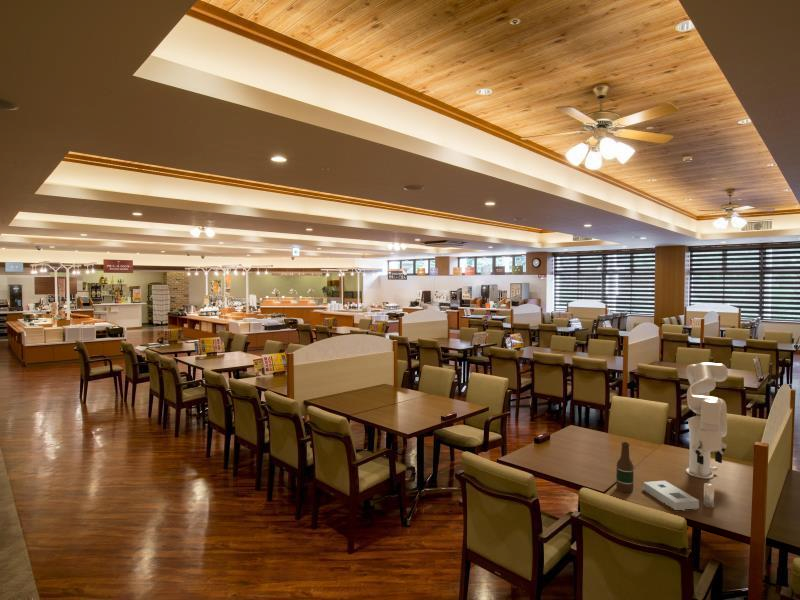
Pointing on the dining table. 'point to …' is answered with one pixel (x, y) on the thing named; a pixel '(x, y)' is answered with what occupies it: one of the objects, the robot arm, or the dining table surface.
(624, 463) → the beer bottle
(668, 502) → the manifold block
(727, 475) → the dining table surface
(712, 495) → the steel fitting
